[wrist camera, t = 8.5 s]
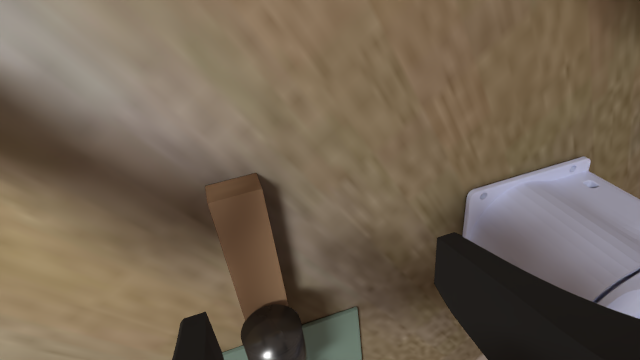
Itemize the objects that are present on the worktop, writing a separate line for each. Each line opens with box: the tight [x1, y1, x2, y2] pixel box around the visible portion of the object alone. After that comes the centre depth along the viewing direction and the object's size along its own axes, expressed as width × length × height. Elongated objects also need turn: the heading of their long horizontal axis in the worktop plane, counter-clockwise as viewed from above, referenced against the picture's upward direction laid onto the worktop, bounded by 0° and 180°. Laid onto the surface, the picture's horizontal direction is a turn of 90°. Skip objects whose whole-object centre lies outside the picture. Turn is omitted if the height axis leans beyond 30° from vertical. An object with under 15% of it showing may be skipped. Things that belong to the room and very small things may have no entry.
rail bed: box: [205, 173, 289, 321], centre depth 22 cm, size 3×10×2 cm, turn 6°
